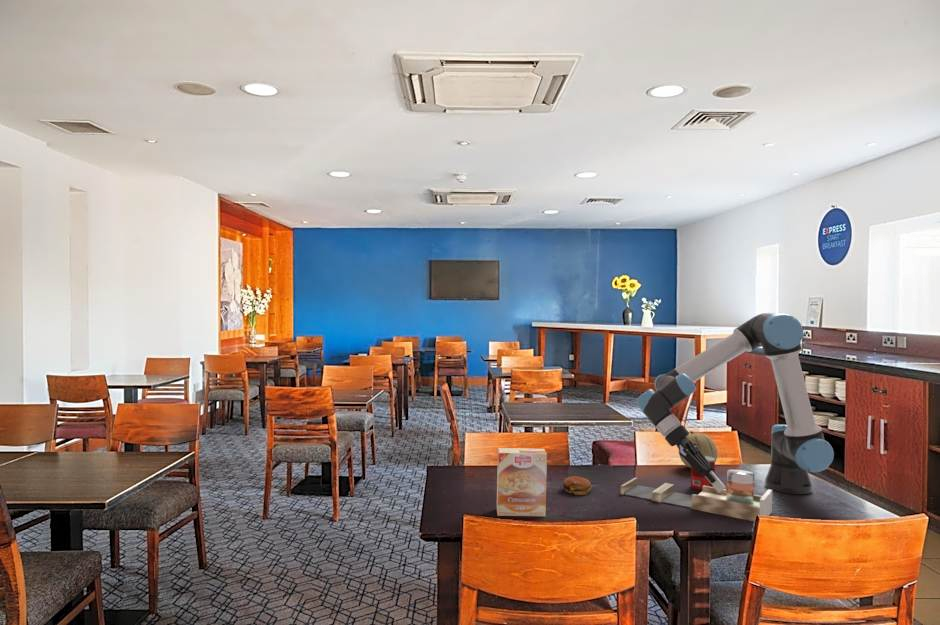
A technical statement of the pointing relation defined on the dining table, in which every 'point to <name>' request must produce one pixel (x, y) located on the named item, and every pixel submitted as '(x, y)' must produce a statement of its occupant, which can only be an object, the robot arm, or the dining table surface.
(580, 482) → the burger
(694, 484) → the canned food
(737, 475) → the tin
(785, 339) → the robot arm
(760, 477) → the dining table surface
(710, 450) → the cantaloupe
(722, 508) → the tray
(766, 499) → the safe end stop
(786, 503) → the dining table surface
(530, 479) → the coffeecake box
